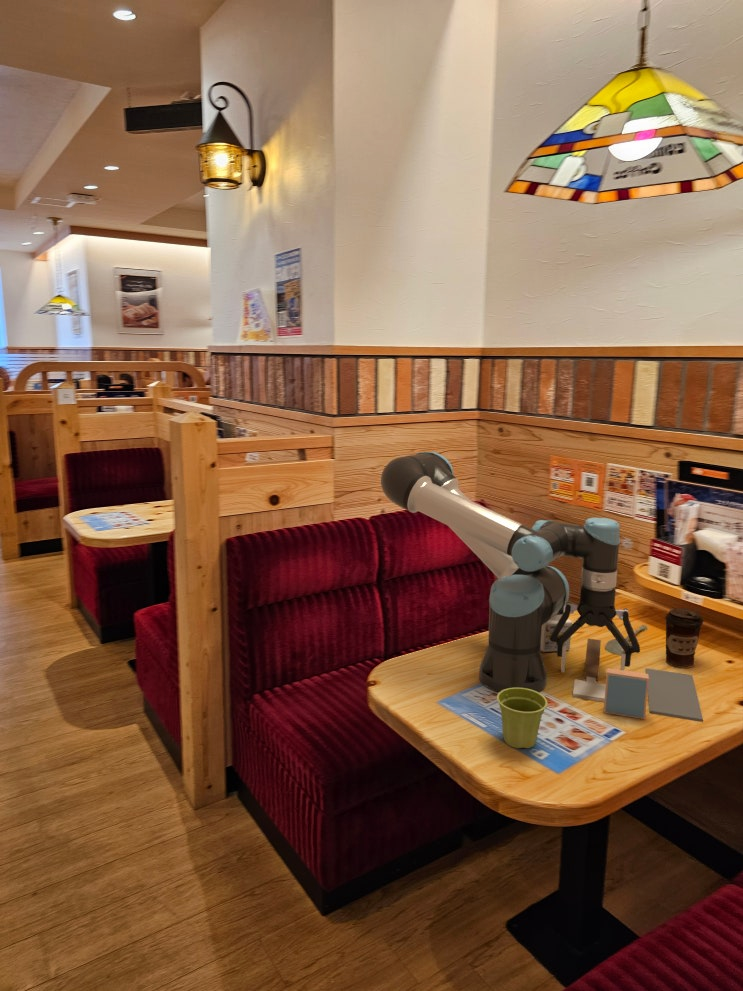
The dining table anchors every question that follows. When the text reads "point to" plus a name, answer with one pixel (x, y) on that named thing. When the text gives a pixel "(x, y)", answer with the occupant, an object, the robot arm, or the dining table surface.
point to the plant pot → (521, 715)
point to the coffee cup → (682, 636)
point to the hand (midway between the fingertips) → (591, 674)
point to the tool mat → (673, 695)
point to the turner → (591, 675)
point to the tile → (626, 693)
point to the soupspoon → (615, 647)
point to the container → (548, 629)
